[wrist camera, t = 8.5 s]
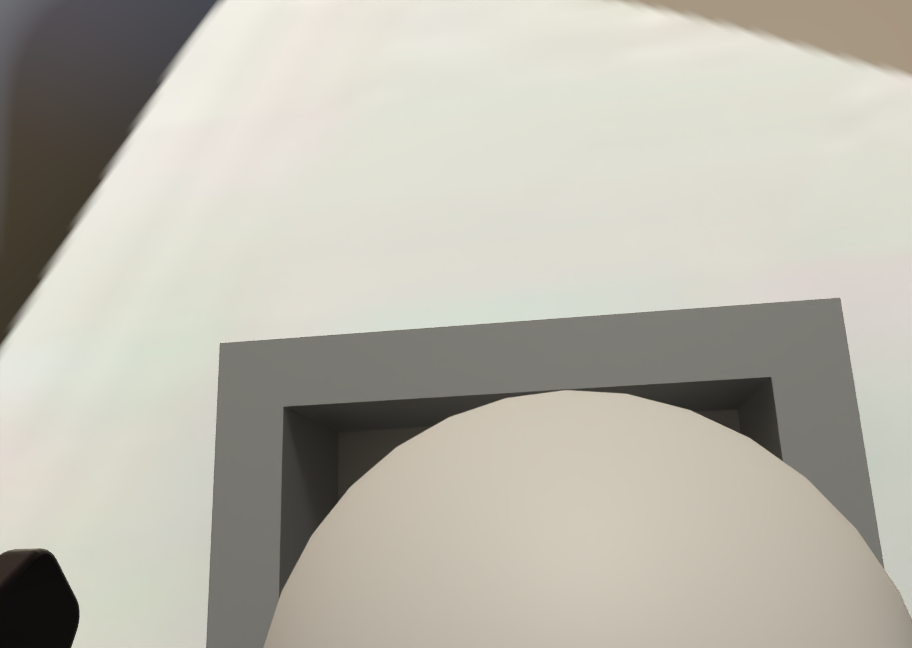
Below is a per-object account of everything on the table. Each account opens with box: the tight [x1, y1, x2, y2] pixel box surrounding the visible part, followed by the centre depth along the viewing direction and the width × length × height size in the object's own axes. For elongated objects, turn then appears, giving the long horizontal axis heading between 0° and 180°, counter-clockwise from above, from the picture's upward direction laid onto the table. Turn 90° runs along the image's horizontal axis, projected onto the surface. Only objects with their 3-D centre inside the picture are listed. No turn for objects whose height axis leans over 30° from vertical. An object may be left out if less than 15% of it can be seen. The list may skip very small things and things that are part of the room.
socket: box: [206, 298, 884, 648], centre depth 14 cm, size 10×10×4 cm
